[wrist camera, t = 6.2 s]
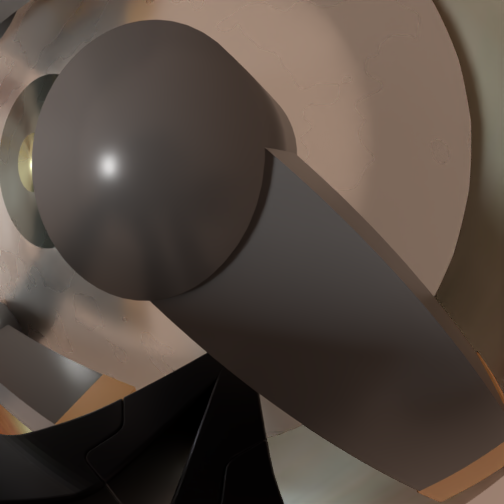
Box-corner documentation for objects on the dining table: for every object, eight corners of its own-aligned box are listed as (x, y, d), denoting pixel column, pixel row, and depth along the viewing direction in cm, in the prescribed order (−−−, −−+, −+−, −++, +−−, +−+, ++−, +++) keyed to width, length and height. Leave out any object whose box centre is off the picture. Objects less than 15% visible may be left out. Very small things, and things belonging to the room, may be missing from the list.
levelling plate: (-6, 339, 16) (-20, 349, 14) (-13, 5, 8) (-30, 2, 6) (350, 470, 11) (349, 498, 9) (413, -107, 2) (418, -130, 1)
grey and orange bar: (125, 169, 7) (12, 189, 4) (208, 52, 6) (114, -11, 2) (409, 420, 7) (421, 513, 4) (500, 351, 6) (548, 436, 3)
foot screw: (5, 347, 13) (-34, 375, 9) (-13, 294, 11) (-58, 320, 8) (155, 427, 10) (114, 490, 7) (141, 365, 9) (80, 435, 6)
